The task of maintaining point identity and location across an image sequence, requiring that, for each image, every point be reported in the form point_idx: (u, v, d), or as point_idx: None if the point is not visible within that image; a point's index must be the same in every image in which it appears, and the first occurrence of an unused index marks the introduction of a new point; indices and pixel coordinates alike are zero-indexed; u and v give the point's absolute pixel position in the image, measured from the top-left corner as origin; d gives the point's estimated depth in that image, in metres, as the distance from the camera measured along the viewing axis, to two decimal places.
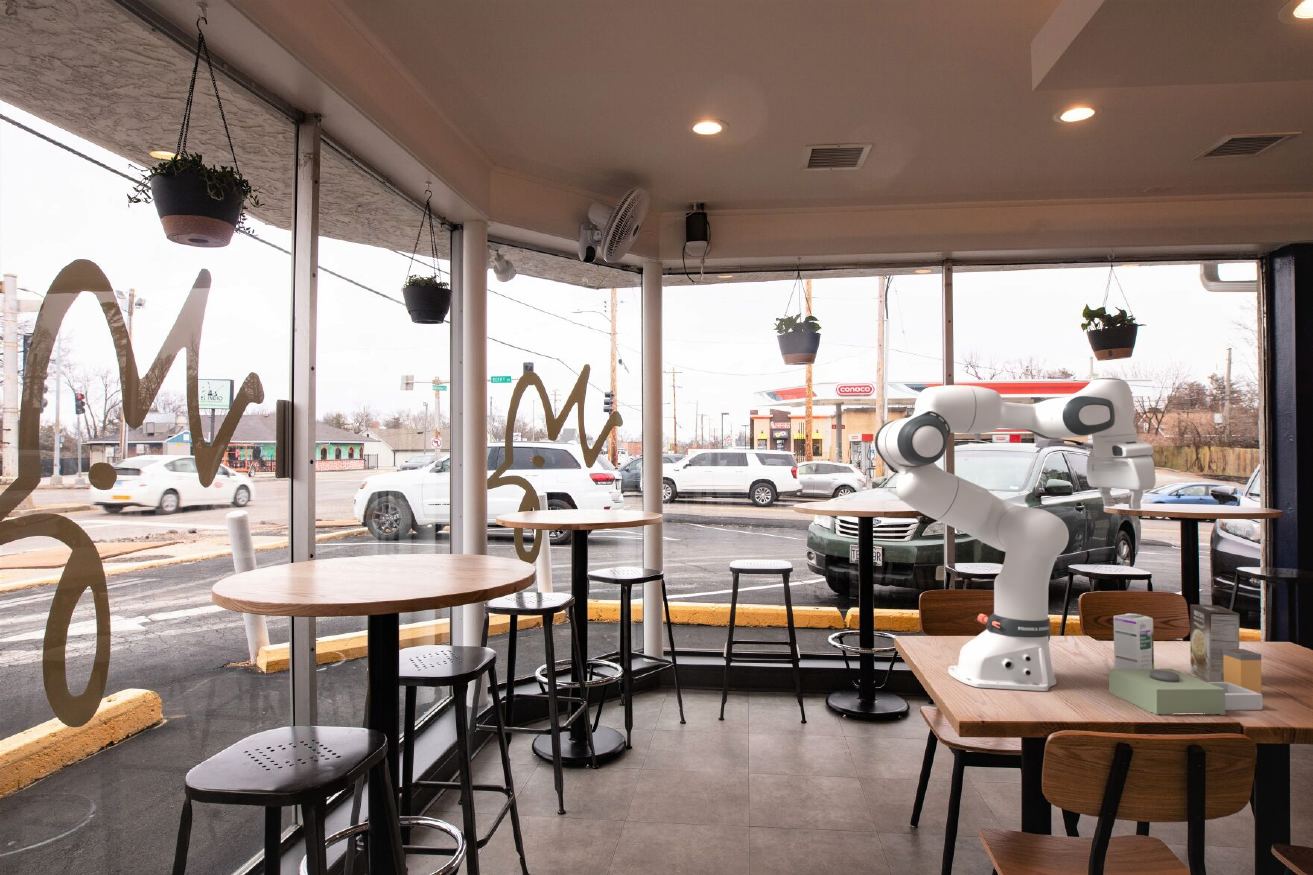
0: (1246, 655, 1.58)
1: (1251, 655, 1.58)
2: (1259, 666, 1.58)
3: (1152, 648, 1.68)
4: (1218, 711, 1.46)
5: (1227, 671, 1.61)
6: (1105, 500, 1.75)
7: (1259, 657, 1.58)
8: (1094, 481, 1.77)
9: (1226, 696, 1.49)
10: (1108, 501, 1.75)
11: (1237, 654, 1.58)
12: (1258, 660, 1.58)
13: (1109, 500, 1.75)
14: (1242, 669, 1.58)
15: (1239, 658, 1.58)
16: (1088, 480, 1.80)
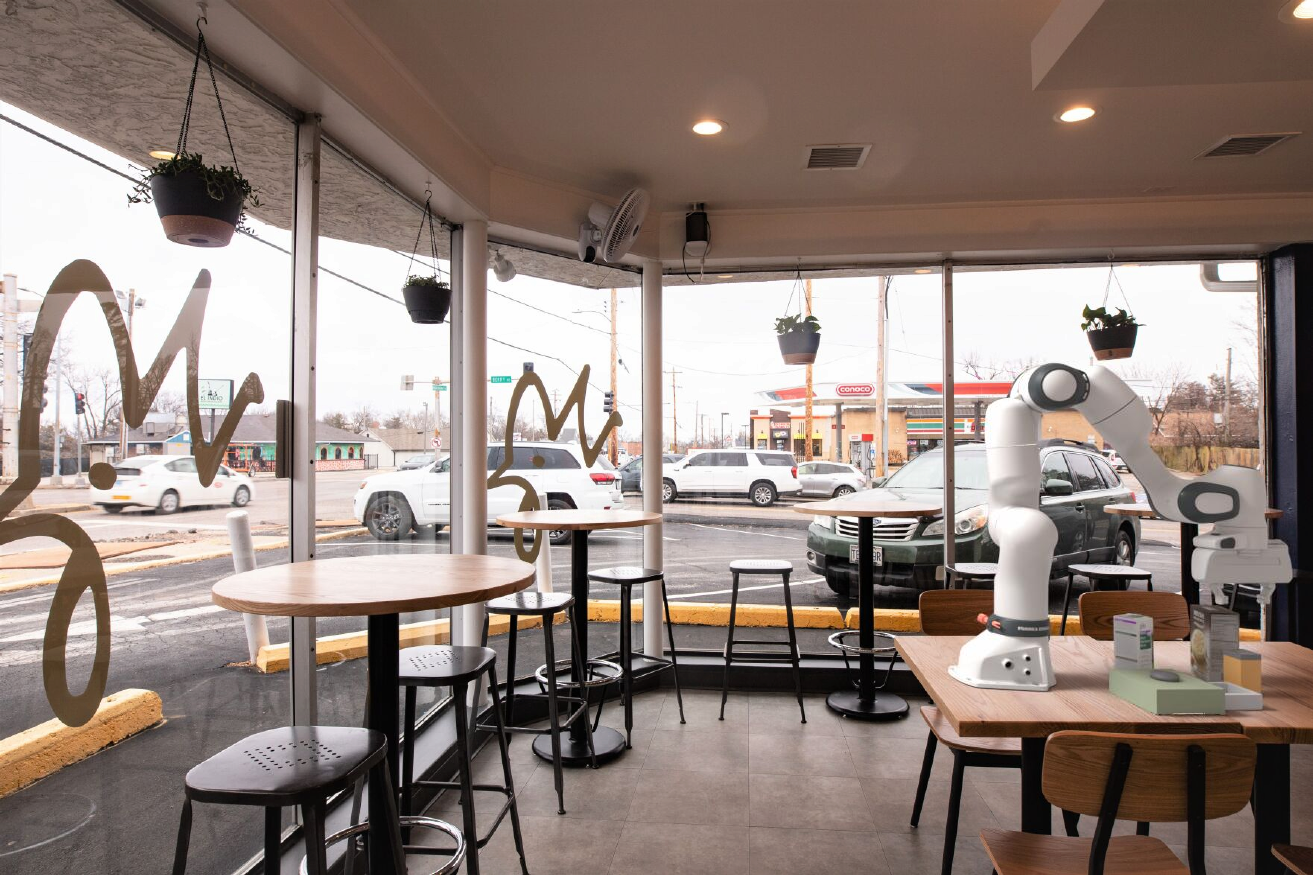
0: (1246, 655, 1.58)
1: (1251, 655, 1.58)
2: (1259, 666, 1.58)
3: (1152, 648, 1.68)
4: (1218, 711, 1.46)
5: (1227, 671, 1.61)
6: None
7: (1259, 657, 1.58)
8: None
9: (1226, 696, 1.49)
10: (1258, 597, 1.61)
11: (1237, 654, 1.58)
12: (1258, 660, 1.58)
13: (1259, 596, 1.61)
14: (1242, 669, 1.58)
15: (1239, 658, 1.58)
16: None
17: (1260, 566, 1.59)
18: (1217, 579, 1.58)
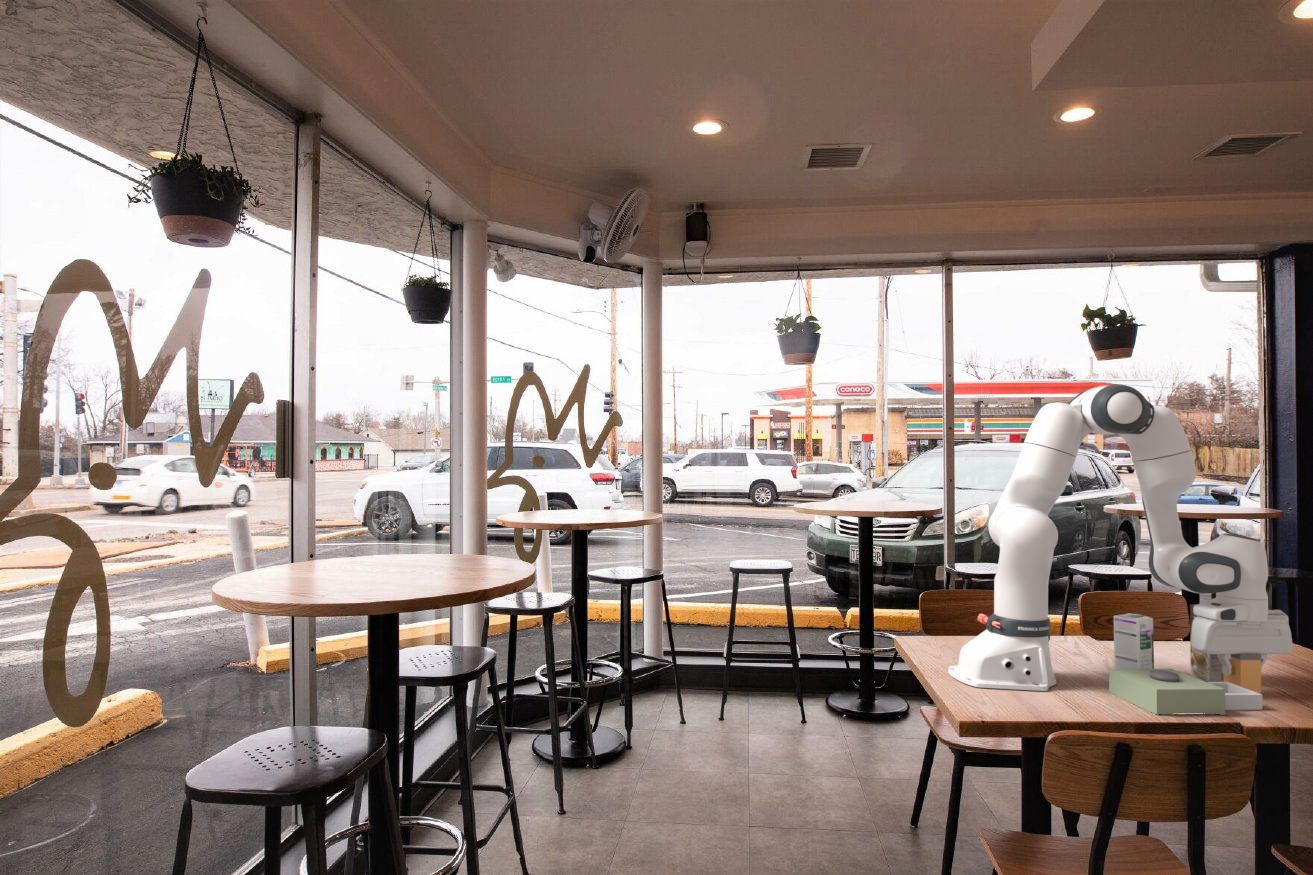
0: (1246, 655, 1.58)
1: (1251, 655, 1.58)
2: (1259, 666, 1.58)
3: (1152, 648, 1.68)
4: (1218, 711, 1.46)
5: None
6: None
7: (1259, 657, 1.58)
8: None
9: (1226, 696, 1.49)
10: None
11: (1237, 654, 1.58)
12: (1258, 659, 1.58)
13: None
14: (1242, 669, 1.58)
15: (1239, 658, 1.58)
16: None
17: (1260, 637, 1.59)
18: (1217, 650, 1.58)
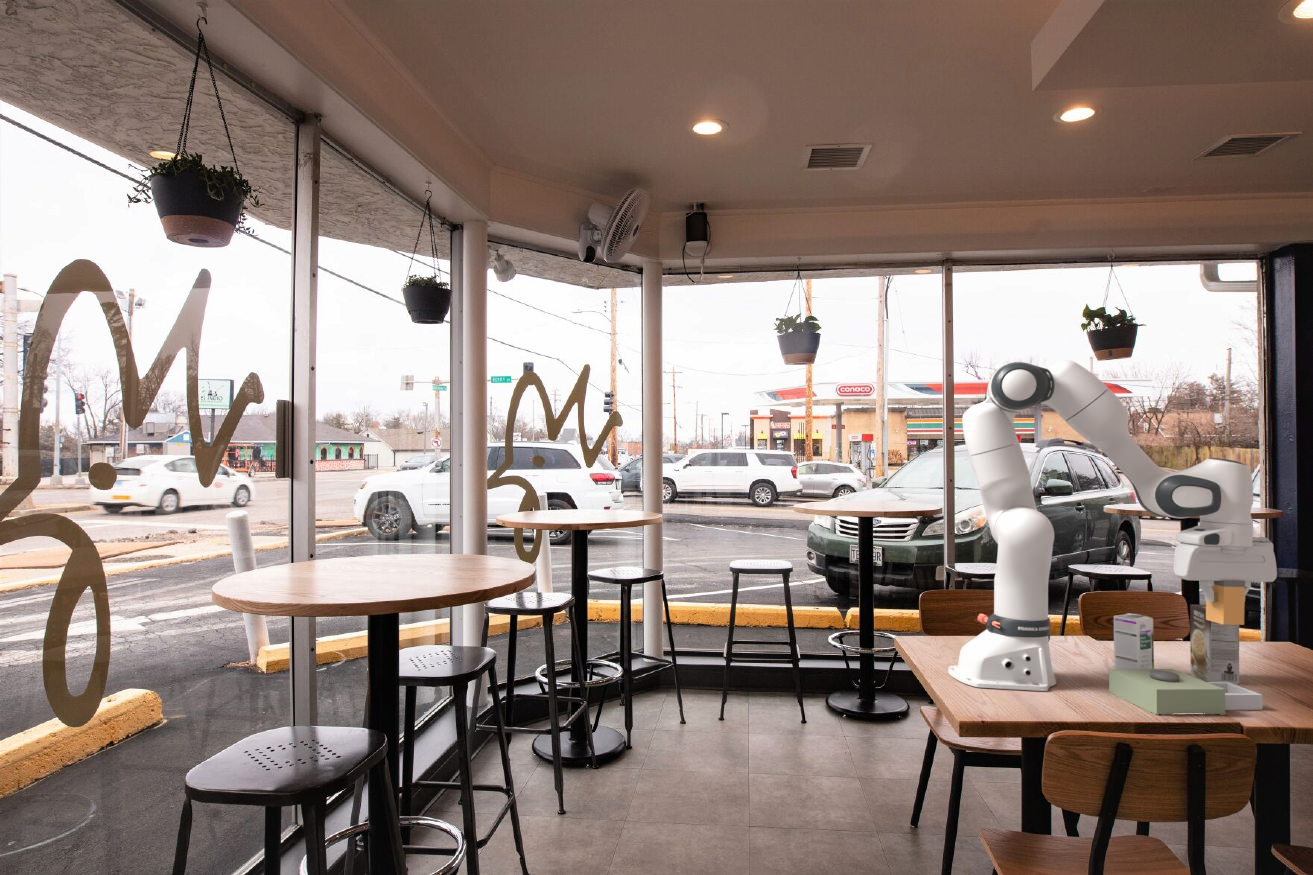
0: (1229, 581, 1.53)
1: (1235, 582, 1.53)
2: (1242, 593, 1.53)
3: (1152, 648, 1.68)
4: (1218, 711, 1.46)
5: None
6: None
7: (1243, 584, 1.53)
8: None
9: (1226, 696, 1.49)
10: None
11: (1220, 581, 1.54)
12: (1241, 586, 1.53)
13: None
14: (1225, 596, 1.53)
15: (1222, 585, 1.53)
16: None
17: (1244, 564, 1.54)
18: (1199, 576, 1.53)
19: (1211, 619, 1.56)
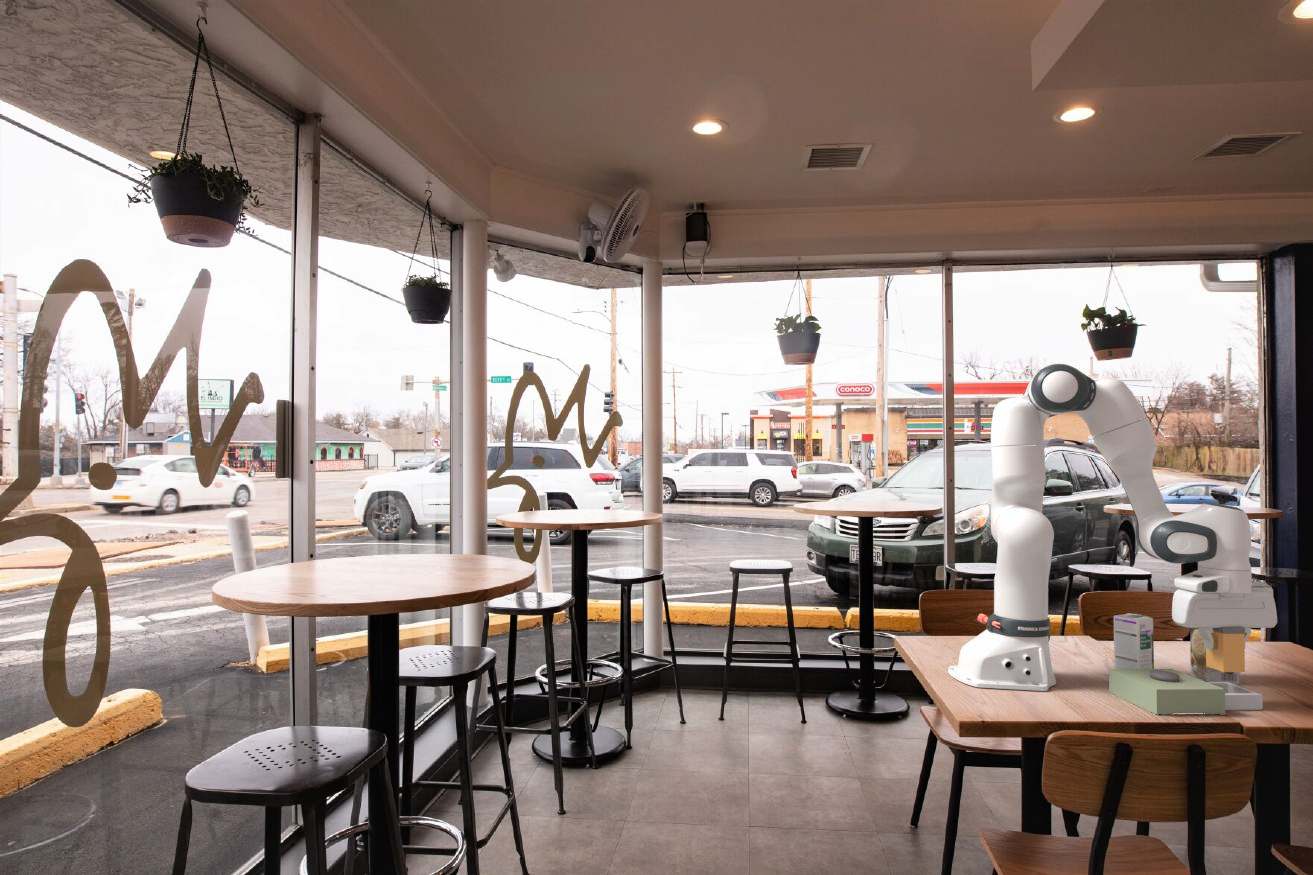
0: (1229, 628, 1.51)
1: (1234, 628, 1.51)
2: (1242, 640, 1.52)
3: (1152, 648, 1.68)
4: (1218, 711, 1.46)
5: None
6: None
7: (1242, 631, 1.52)
8: None
9: (1226, 696, 1.49)
10: None
11: (1220, 628, 1.52)
12: (1241, 633, 1.52)
13: None
14: (1225, 643, 1.51)
15: (1222, 632, 1.52)
16: None
17: (1244, 610, 1.52)
18: (1198, 623, 1.52)
19: (1211, 666, 1.54)
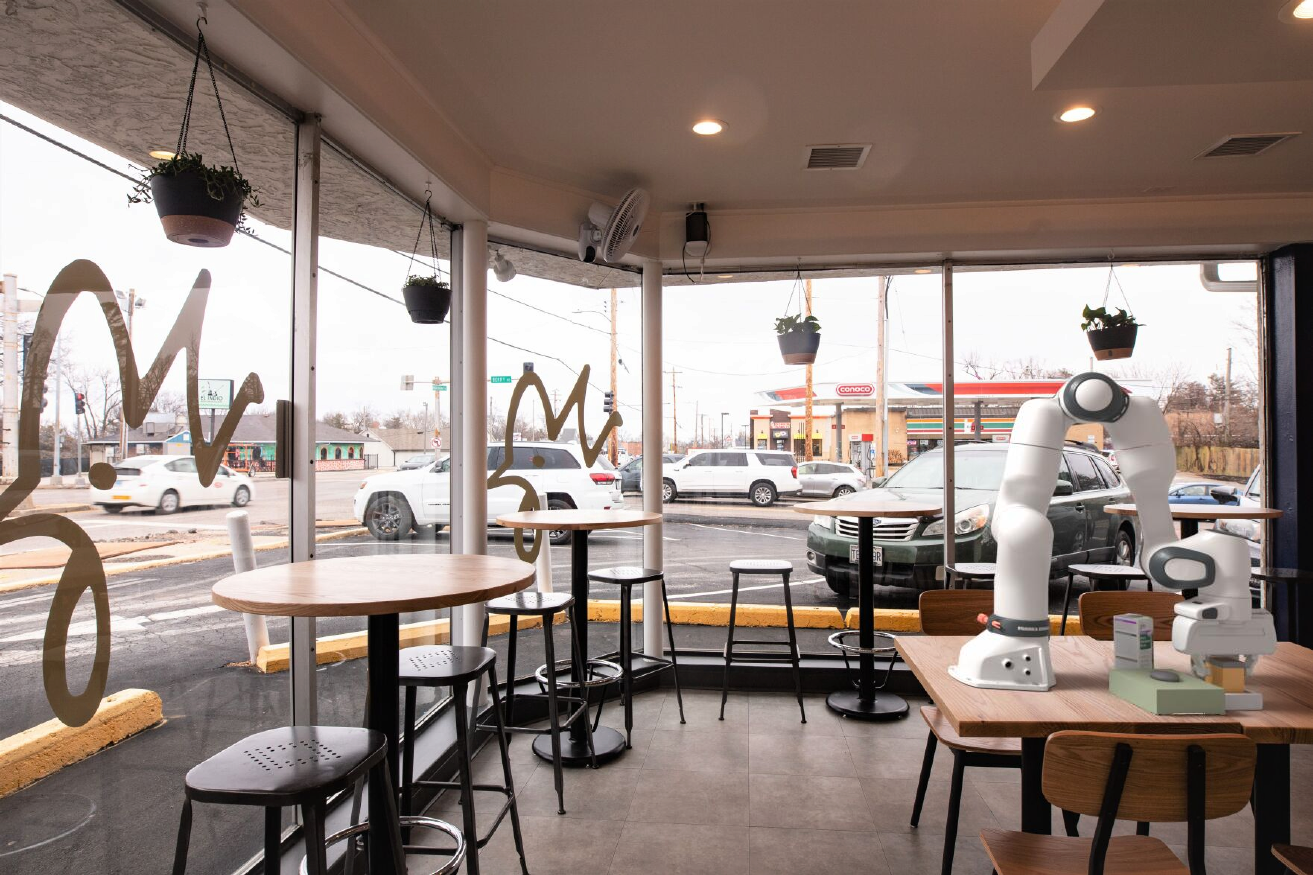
0: (1228, 663, 1.51)
1: (1234, 663, 1.51)
2: (1242, 674, 1.51)
3: (1152, 648, 1.68)
4: (1218, 711, 1.46)
5: (1209, 679, 1.55)
6: None
7: (1242, 665, 1.51)
8: None
9: (1226, 696, 1.49)
10: None
11: (1219, 662, 1.52)
12: (1241, 668, 1.51)
13: None
14: (1225, 678, 1.51)
15: (1221, 667, 1.52)
16: None
17: (1244, 637, 1.52)
18: (1198, 650, 1.51)
19: None
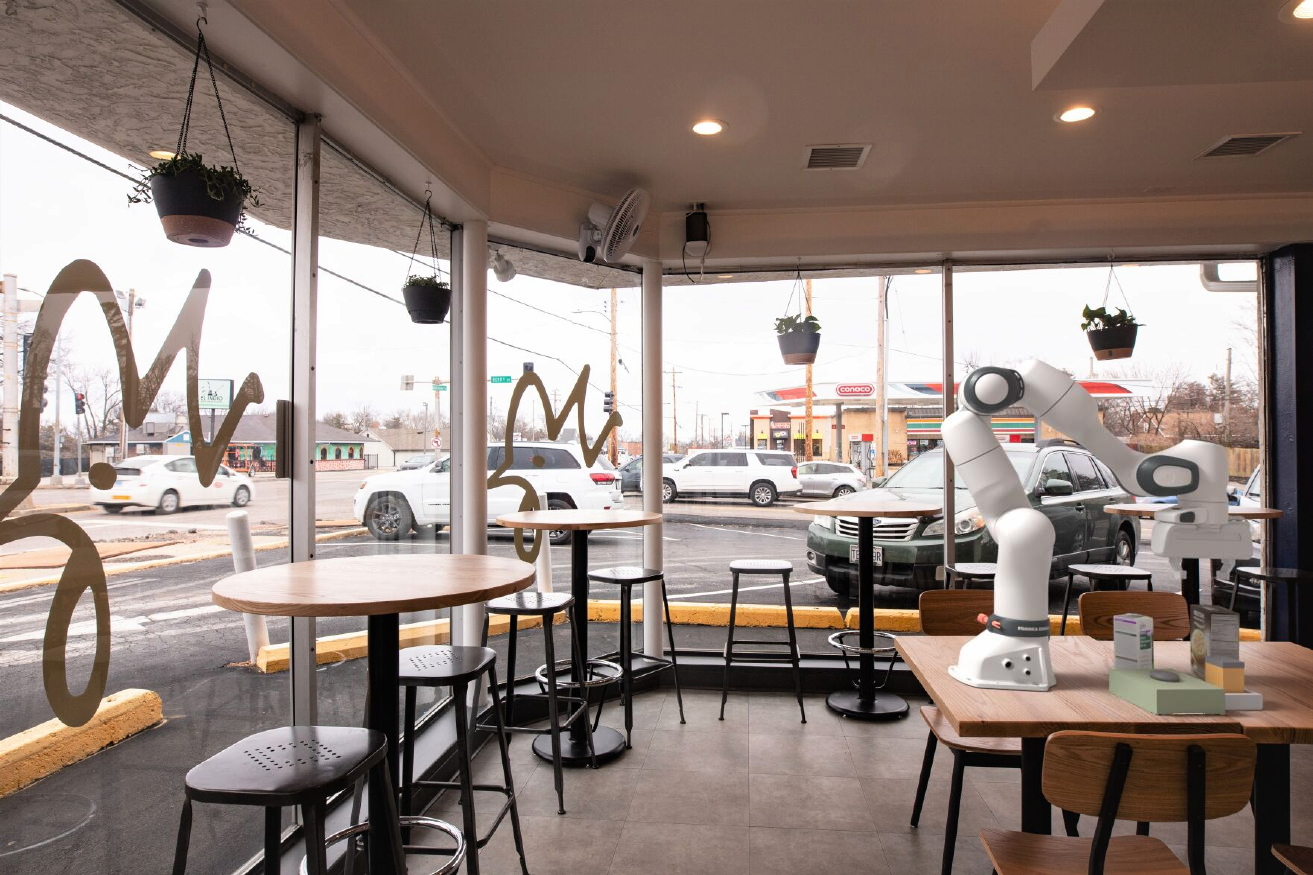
0: (1228, 663, 1.51)
1: (1234, 663, 1.51)
2: (1242, 674, 1.51)
3: (1152, 648, 1.68)
4: (1218, 711, 1.46)
5: (1209, 680, 1.55)
6: None
7: (1242, 665, 1.51)
8: None
9: (1226, 696, 1.49)
10: (1218, 573, 1.60)
11: (1219, 662, 1.52)
12: (1241, 668, 1.51)
13: (1218, 572, 1.60)
14: (1225, 678, 1.51)
15: (1221, 667, 1.52)
16: None
17: (1220, 542, 1.58)
18: (1175, 553, 1.57)
19: None
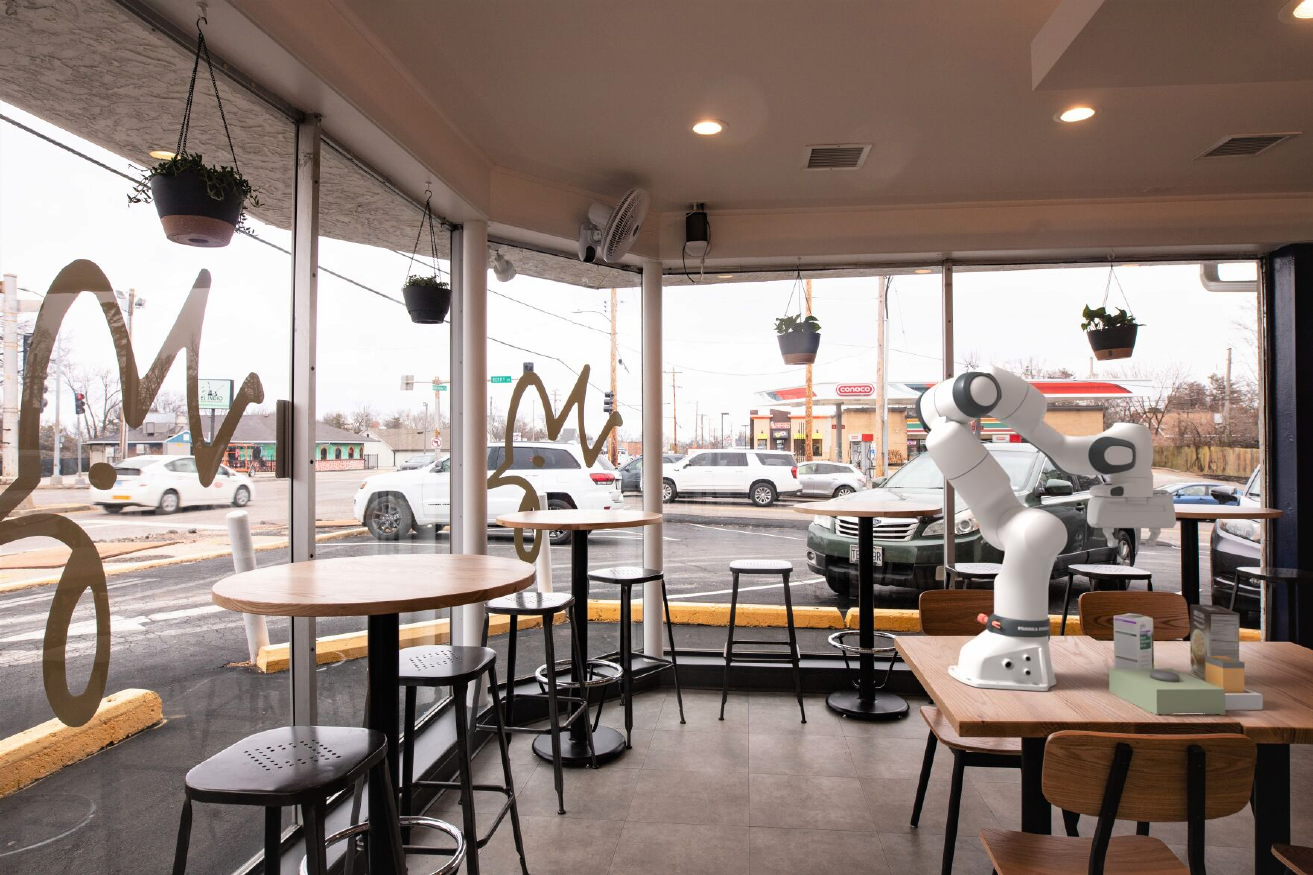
0: (1228, 663, 1.51)
1: (1234, 663, 1.51)
2: (1242, 674, 1.51)
3: (1152, 648, 1.68)
4: (1218, 711, 1.46)
5: (1209, 679, 1.55)
6: None
7: (1242, 665, 1.51)
8: None
9: (1226, 696, 1.49)
10: (1146, 541, 1.80)
11: (1219, 662, 1.52)
12: (1241, 668, 1.51)
13: (1146, 540, 1.79)
14: (1225, 678, 1.51)
15: (1221, 667, 1.52)
16: None
17: (1147, 513, 1.78)
18: (1108, 524, 1.77)
19: None
